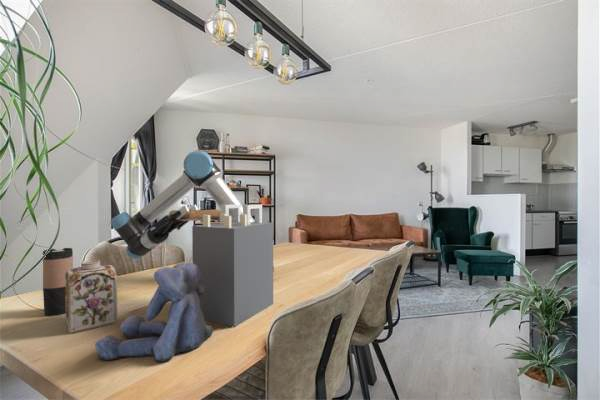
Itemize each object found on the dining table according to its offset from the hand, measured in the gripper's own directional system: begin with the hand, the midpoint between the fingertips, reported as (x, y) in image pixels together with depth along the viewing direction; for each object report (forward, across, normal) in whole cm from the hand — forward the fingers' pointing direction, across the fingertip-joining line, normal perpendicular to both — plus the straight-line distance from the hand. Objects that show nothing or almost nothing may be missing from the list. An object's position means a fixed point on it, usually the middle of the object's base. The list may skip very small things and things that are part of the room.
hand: (191, 208), depth 115 cm
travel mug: (-38, +32, -16) cm, 52 cm away
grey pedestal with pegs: (+5, +6, -41) cm, 41 cm away
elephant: (+2, +31, -39) cm, 50 cm away
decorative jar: (-23, +32, -25) cm, 46 cm away
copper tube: (0, 0, -6) cm, 6 cm away
